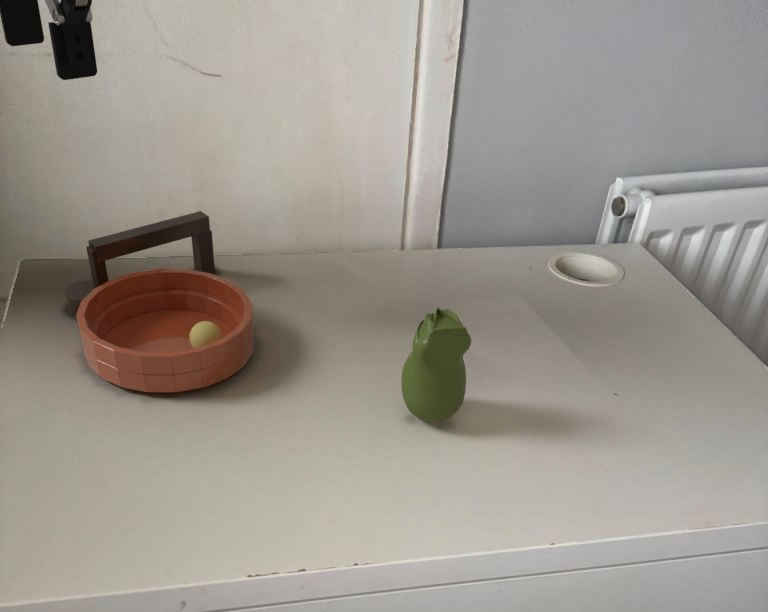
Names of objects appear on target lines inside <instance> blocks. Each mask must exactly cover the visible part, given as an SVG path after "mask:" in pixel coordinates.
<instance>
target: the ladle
mask: <svg viewBox="0 0 768 612" xmlns="http://www.w3.org/2000/svg"><path fill="white" fill-rule="evenodd" d="M187 238H191V246H192V247H191V248H192V258H193V267H194V270H195V271H200V272H206V273H211V274H213V275H216V267H215V266H216V265H215V256H214V242H213V231H212V230H211V225H210V216H209V215H207V214H206V213H204V212H203V211H201V210H199V211H195V212H191V213H188V214H184V215H180V216H177V217H172V218H169V219H166V220H160V221H157V222H154V223H150V224H146V225H141V226H139V227H138V226H137V227H134V228H131V229H126V230H123V231H119V232H116V233H112V234H108V235H104V236H100V237H97V238H92V239H89V240H87V242H88V245H87V246H85V249H86V253H87V258H88V264H89V270H90V275H91V279H84V280H83V279H82V280H78V281H75V282H72V283H70V284H69V285H68V286H66V288H65V290H64V295H65V299H66V304H67V308H68V309H67V310H68V312H69V313H70V314H71V315H72V316H74V317H76V315H77V312H78V309H79V306H80V303H81V301H82V300H83V299H84V298H85V297H86V296H87V295H88V294H89V293H90V292H91V291H92V290H93V289H95V288H96V287H98V286H100V285H102V284H104V283H106V282H108V281H110V280H109V275H108V269H107V264H106V261H109V260H112V259H116V258H120V257H122V256H123V257H124V256H127V255H131V254H134V253H138V252H141V251H145V250H149V249H152V248H155V247H158V246H162V245H166V244H170V243H174V242H177V241H180V240H185V239H187Z"/></svg>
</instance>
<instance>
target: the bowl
mask: <svg viewBox="0 0 768 612" xmlns="http://www.w3.org/2000/svg"><path fill="white" fill-rule="evenodd" d="M253 308H254V307H253V304H252V301H251V300H250V298H249V296H248V295H247V293H246V291H245V290H243V288H241V287H240V286H238V285H237V284H235V283H234V282H232V281H231V280H228V279H226V278H224V277H221V276H219V275H217V274H211V273H206V272H200V271H195V269H189V268H188V269H186V268H156V269H149V270H140V271H135V272H132V273H128V274H124V275H121V276H118V277H113V278H111V279H110V280H109V281H108V282H106V283H104V284H102V285H100V286H98V287H96V288H95V289H93V290H92V291H91V292H90V293H89V294H88V295H87V296H86V297H85V298H84V299H83V300H82V301H81V303H80V306H79V309H78V312H77V315H76V316H75V317H76V321H77V322H76V323H77V326H78V327H77V328H78V331H79V336H80V340H81V344H82V346H81V347H82V350H83V354H84V356H85V360H86V361H85V362H86V364H87V365H88V366H89V367H90V369H91V370H92V371H94V372H95V373H96V374H97V376H98V377H100V379H102V380H105V381H107V382H109V383H111V384H114V385H116V386H118V387H121V388H124V389H129V390H134V391H138V392H139V391H140V392H144V393H180V392H186V391H192V390H197V389H202V388H203V389H204V388H207V387H209V386H211V385H214V384H216V383H219V382H222V381H224V380H227V379H228V378H230V377H231V376H233V375H235V373H237V372H238V371H239V370H241V369H242V368H243V367H245V365H246V364H247V362H248V360H249V359H250V357H251V356H252V354H253V353H254V347H255V346H254V343H255V334H254V333H255V331H254V311H253ZM202 321H209V322H212V323H214V324H216V325H217V326H218V327H219V328H220V330H221V332H222V335H223V338H222V339H220V340H218V341H216V342H213V343H210V344H207V345H204V346H202V347H199V348H195V349H194V348H193V347H192V345H191V343H190V332H191V329H192V328H193V326H194V325H196V324H197V323H199V322H202Z"/></svg>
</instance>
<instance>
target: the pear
mask: <svg viewBox="0 0 768 612" xmlns="http://www.w3.org/2000/svg"><path fill="white" fill-rule="evenodd" d="M471 346H472V337H471V335H470V334H469V332H468V330H467V327H465V326H464V325H463V323H462V321H461V320H460V318H459V316H458V314H457V313H455V312H454V311H452V310H450V309H448V308H444V309H441V308H440V307H439V306H437V307H436V309H435V310H434V312H432V313H429V312H427V313H426V314H424V318H423V320H422V321H420V323H418V326H417V328H416V330H415V332H414V335H413V339H412V348H411V349H412V350H411V351H410V352H409V354H408V356H407V357H406V359H405V361H404V363H403V365H402V370H401V377H400V378H401V379H400V383H401V384H400V385H401V394H402V398H403V402H404V404H405V407H406V408H407V410H408V412H410V413H411V414H412V415H413V416H414V417H415V418H417V419H419V420H421V421H424V422H429V423H440V422H443V421H446V420H448V419H450V418H452V417H453V416H454V415H456V414H457V412H458V411H459V410H460V409H461V407H462V405H463V403H464V400H465V396H466V388H467V370H466V364H465V360H464V355H465V354H466V353H467V351H468V350H470V348H471Z"/></svg>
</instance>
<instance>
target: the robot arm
mask: <svg viewBox="0 0 768 612" xmlns="http://www.w3.org/2000/svg"><path fill="white" fill-rule="evenodd" d="M44 2H45V3H46V7H47V10H48V11H49V14H50V16H51V19H52V21H50V22H48V23H47V24H48V31H49V36H50V42H51V48H52V53H53V54H52V55H53V61H54V65H55V71H56V75H57V77H58V78H60V79H61V80H63V81H68V80H69V81H70V80H76V79H82V78H90V77H95V76H97V74H98V66H97V65H98V64H97V58H96V51H95V43H94V38H93V37H94V36H93V29H92V21H93V13H92V10H91V8H92V7H91V6H92V4H93V0H60V1H59V0H44ZM0 20H1V25H2V30H3V34H4V40H5V42H6V44H8V45H9V46H10V47H20V46H27V45H28V46H29V45H37V44H42V43H44V41H45V34H44V29H43V23H42V19H41V11H40V6H39V1H38V0H0Z"/></svg>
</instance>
